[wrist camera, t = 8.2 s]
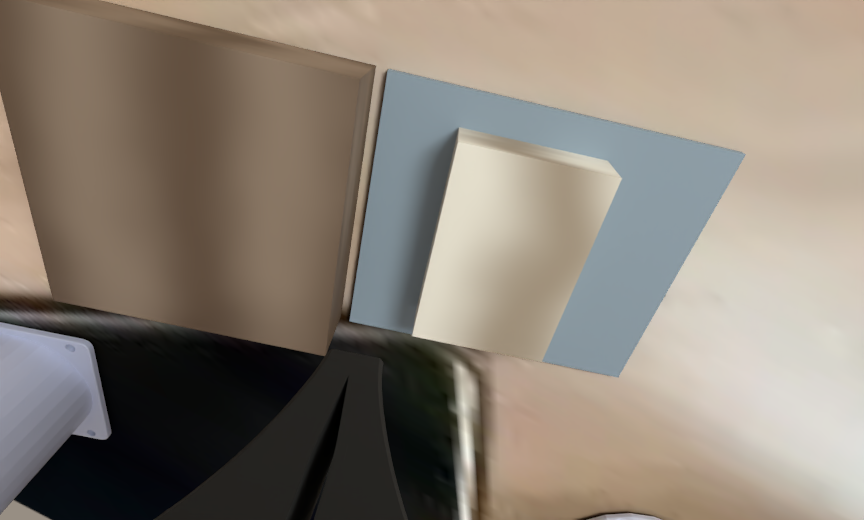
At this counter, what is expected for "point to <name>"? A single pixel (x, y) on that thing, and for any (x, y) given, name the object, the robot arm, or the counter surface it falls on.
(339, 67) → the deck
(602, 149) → the mat
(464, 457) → the counter surface
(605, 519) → the soap bottle
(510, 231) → the tile
